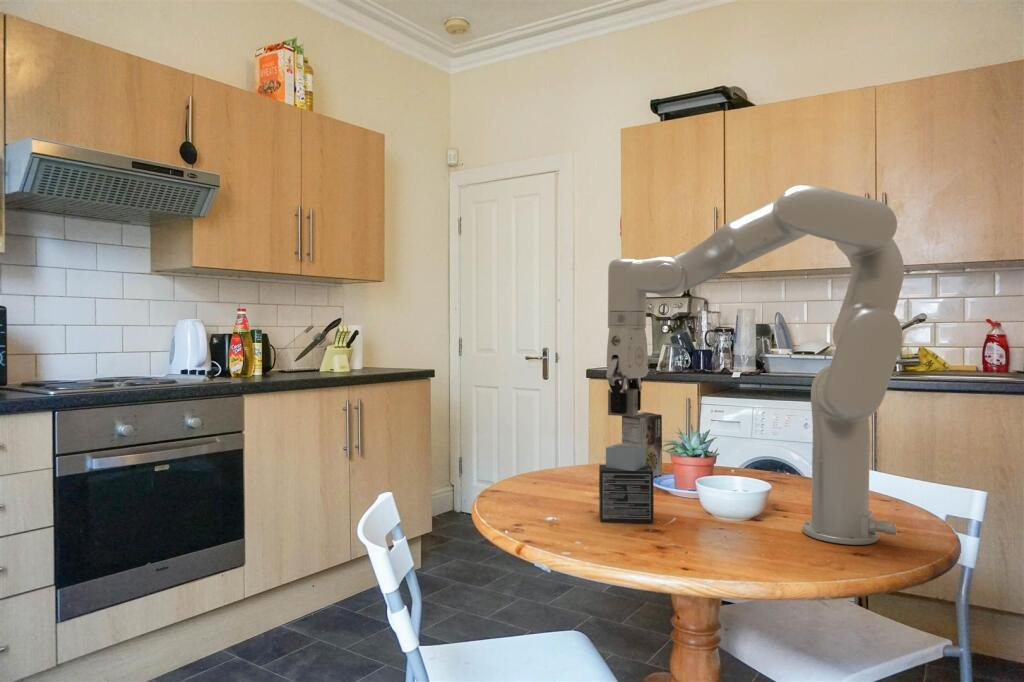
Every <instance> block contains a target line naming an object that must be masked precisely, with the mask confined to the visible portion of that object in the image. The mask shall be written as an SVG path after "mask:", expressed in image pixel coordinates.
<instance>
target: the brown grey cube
mask: <svg viewBox="0 0 1024 682" xmlns="http://www.w3.org/2000/svg"><path fill="white" fill-rule="evenodd" d="M625 393H627V412H626V413H625V414H620V413H612V412H611V392H610V388H609V389H608V390H607V415H608V416H617V417H618V416H620V417H622V416H635V415H636V414H638V413H639V412H638V389H627V387H626V388H625Z"/></svg>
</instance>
